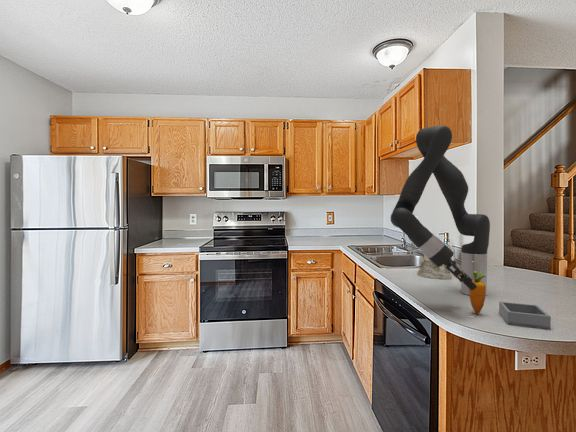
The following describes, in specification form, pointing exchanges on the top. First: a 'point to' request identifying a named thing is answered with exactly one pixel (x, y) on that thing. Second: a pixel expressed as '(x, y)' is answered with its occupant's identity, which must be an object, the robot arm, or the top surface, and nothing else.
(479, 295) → the carrot
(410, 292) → the top surface
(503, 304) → the bin
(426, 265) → the ceramic cottage
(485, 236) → the robot arm
